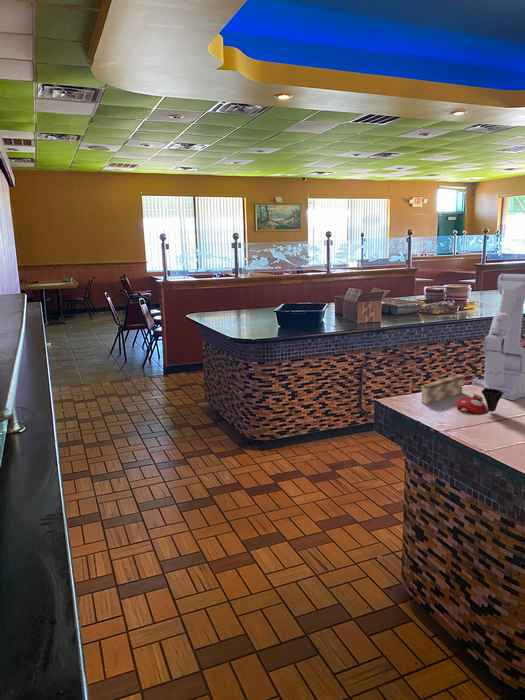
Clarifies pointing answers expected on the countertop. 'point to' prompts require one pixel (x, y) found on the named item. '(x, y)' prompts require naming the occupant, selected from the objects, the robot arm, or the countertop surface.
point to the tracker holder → (472, 404)
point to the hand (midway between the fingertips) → (491, 410)
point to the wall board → (442, 388)
